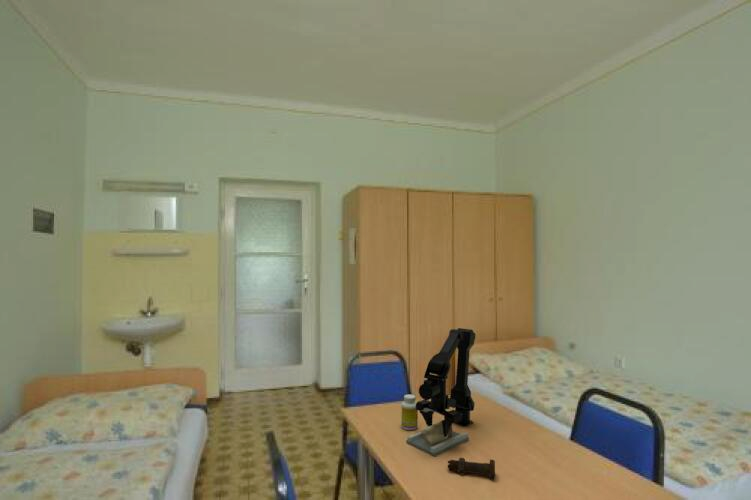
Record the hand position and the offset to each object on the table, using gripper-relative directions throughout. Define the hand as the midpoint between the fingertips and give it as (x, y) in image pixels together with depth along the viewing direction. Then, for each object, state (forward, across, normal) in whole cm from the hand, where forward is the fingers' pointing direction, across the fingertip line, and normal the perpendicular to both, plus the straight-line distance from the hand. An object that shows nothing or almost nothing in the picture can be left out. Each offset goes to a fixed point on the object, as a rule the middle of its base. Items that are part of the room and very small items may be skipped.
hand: (437, 433), depth 163 cm
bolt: (+4, -22, +9) cm, 24 cm away
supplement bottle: (+3, +16, -1) cm, 16 cm away
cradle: (+3, 0, 0) cm, 3 cm away
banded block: (+2, 0, 0) cm, 2 cm away
